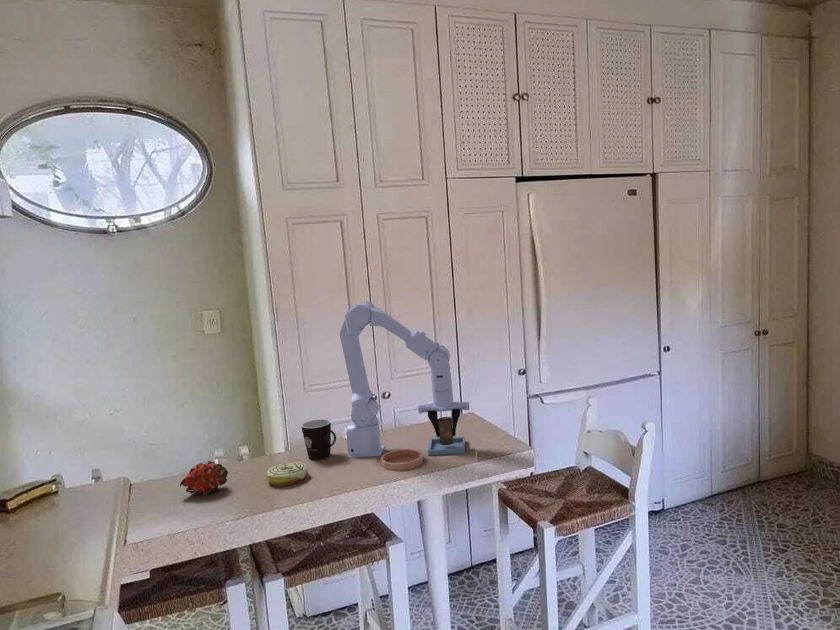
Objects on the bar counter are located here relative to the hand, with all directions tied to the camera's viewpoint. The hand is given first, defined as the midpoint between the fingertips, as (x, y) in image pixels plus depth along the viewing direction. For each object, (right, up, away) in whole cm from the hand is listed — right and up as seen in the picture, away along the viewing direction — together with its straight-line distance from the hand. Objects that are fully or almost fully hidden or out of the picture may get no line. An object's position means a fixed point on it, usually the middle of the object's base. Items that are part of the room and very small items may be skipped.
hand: (446, 435), depth 165 cm
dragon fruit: (-63, -12, -15) cm, 66 cm away
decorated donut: (-43, -10, -11) cm, 45 cm away
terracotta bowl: (-12, -6, -7) cm, 16 cm away
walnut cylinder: (0, -2, 0) cm, 2 cm away
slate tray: (0, -4, 0) cm, 4 cm away
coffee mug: (-36, -7, +3) cm, 37 cm away
